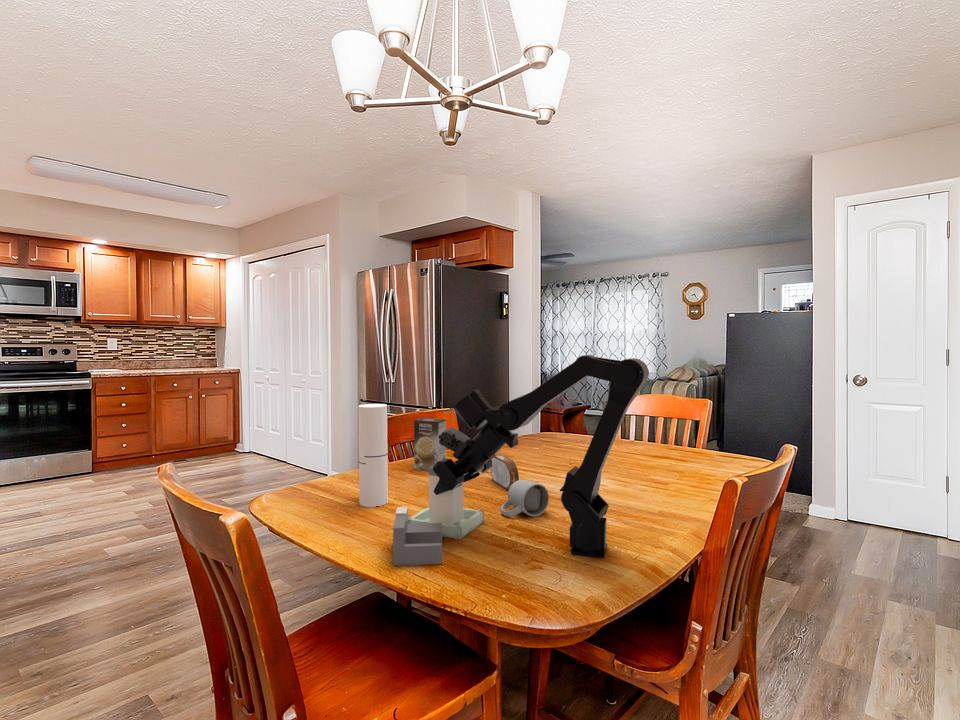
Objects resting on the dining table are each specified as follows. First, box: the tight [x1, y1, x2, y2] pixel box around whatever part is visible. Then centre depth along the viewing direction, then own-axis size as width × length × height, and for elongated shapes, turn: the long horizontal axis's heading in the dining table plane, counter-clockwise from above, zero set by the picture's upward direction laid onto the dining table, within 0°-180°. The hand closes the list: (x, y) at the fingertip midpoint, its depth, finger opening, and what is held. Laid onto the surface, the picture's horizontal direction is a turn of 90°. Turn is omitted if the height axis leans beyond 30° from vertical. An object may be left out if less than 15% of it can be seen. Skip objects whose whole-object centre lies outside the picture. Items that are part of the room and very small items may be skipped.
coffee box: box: [413, 417, 447, 472], centre depth 172 cm, size 9×6×16 cm
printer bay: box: [392, 506, 443, 567], centre depth 104 cm, size 9×12×7 cm
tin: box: [489, 453, 520, 491], centre depth 152 cm, size 15×3×8 cm, turn 22°
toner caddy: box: [428, 466, 465, 525], centre depth 119 cm, size 6×5×12 cm
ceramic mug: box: [500, 479, 550, 518], centre depth 128 cm, size 11×8×8 cm
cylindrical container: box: [357, 403, 389, 508], centre depth 136 cm, size 7×7×25 cm
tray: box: [408, 506, 485, 541], centre depth 119 cm, size 13×12×2 cm
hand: (441, 490), depth 119 cm, fingers closed on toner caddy, 5 cm apart
